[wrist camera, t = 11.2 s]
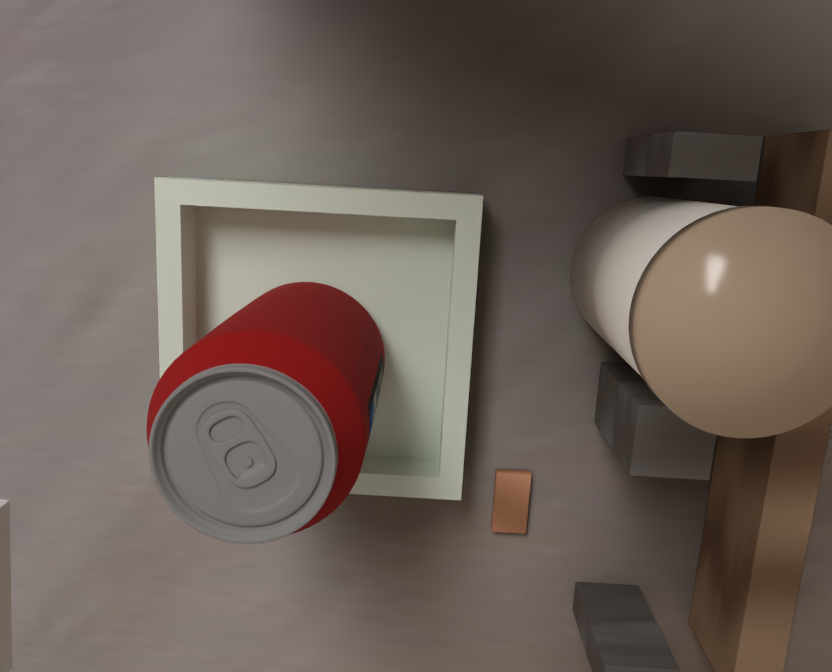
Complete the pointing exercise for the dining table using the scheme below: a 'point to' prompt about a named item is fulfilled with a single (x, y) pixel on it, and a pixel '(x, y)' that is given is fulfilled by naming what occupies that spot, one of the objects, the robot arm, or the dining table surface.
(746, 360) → the ceramic jar
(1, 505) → the robot arm
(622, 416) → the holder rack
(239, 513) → the beverage can
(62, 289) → the dining table surface
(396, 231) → the tray
